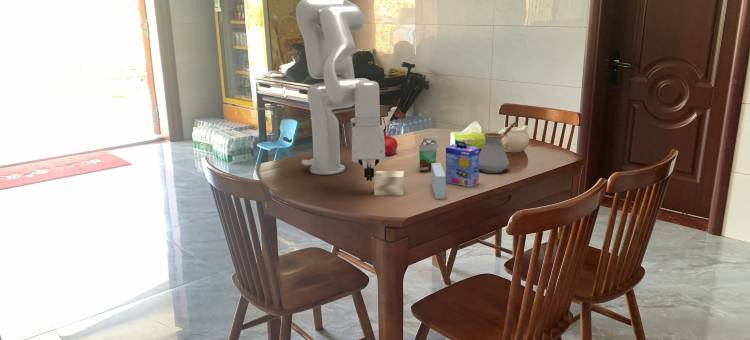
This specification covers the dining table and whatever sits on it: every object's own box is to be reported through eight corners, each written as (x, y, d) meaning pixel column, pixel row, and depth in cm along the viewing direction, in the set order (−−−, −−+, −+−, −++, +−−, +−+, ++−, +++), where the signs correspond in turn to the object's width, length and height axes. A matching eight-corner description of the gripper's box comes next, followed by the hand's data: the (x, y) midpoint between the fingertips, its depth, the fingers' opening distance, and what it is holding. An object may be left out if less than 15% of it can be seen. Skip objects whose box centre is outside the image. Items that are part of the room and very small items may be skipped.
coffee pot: (498, 176, 197) (499, 133, 193) (469, 171, 204) (470, 129, 200) (528, 164, 212) (530, 123, 208) (500, 159, 219) (502, 120, 216)
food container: (436, 173, 202) (436, 145, 200) (419, 173, 203) (419, 145, 201) (440, 164, 214) (440, 138, 211) (423, 164, 215) (423, 137, 212)
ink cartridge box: (444, 182, 191) (444, 139, 187) (453, 179, 195) (453, 136, 191) (470, 187, 185) (471, 143, 181) (479, 183, 189) (480, 140, 185)
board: (435, 198, 175) (435, 176, 173) (431, 183, 190) (431, 163, 189) (445, 198, 175) (445, 176, 173) (440, 183, 190) (440, 162, 188)
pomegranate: (398, 151, 236) (398, 129, 234) (396, 157, 227) (396, 134, 224) (374, 151, 237) (374, 128, 235) (371, 156, 228) (371, 133, 226)
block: (374, 195, 180) (373, 176, 178) (376, 188, 187) (376, 170, 185) (403, 195, 179) (403, 177, 178) (404, 189, 186) (404, 171, 184)
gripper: (342, 124, 174) (344, 183, 178) (392, 123, 173) (393, 182, 178) (344, 120, 181) (346, 176, 186) (392, 119, 181) (393, 175, 185)
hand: (369, 179), depth 182 cm, fingers closed
